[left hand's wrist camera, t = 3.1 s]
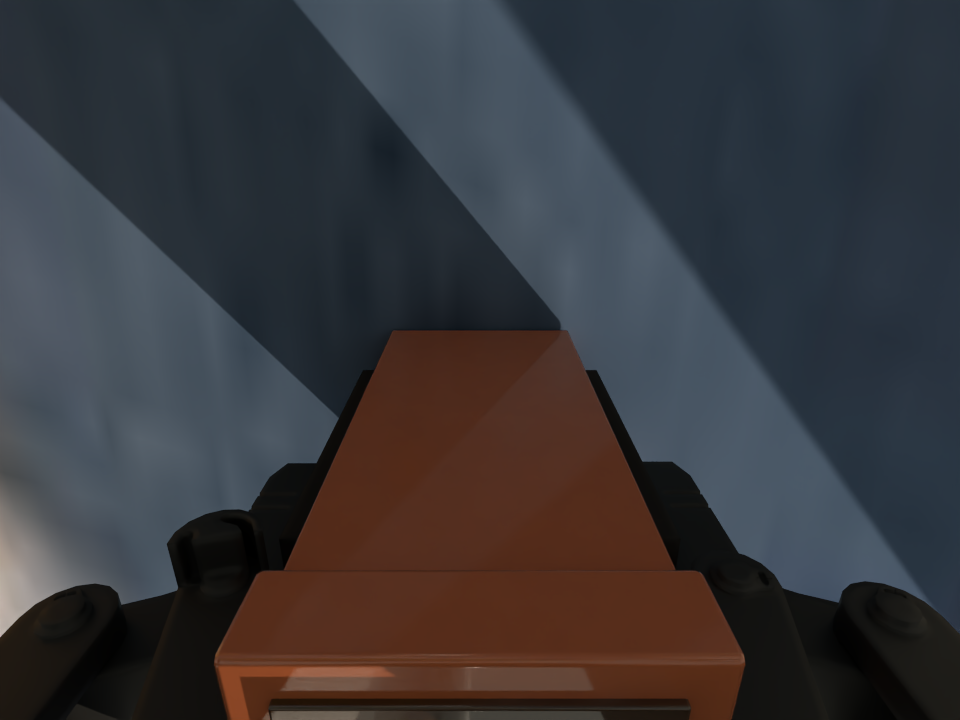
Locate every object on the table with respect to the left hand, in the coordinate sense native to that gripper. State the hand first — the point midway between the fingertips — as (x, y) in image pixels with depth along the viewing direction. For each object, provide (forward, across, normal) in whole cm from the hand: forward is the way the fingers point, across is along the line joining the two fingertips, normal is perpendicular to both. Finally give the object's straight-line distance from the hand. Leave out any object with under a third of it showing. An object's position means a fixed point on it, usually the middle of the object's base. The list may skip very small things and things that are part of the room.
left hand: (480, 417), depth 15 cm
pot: (+1, 0, 0) cm, 1 cm away
